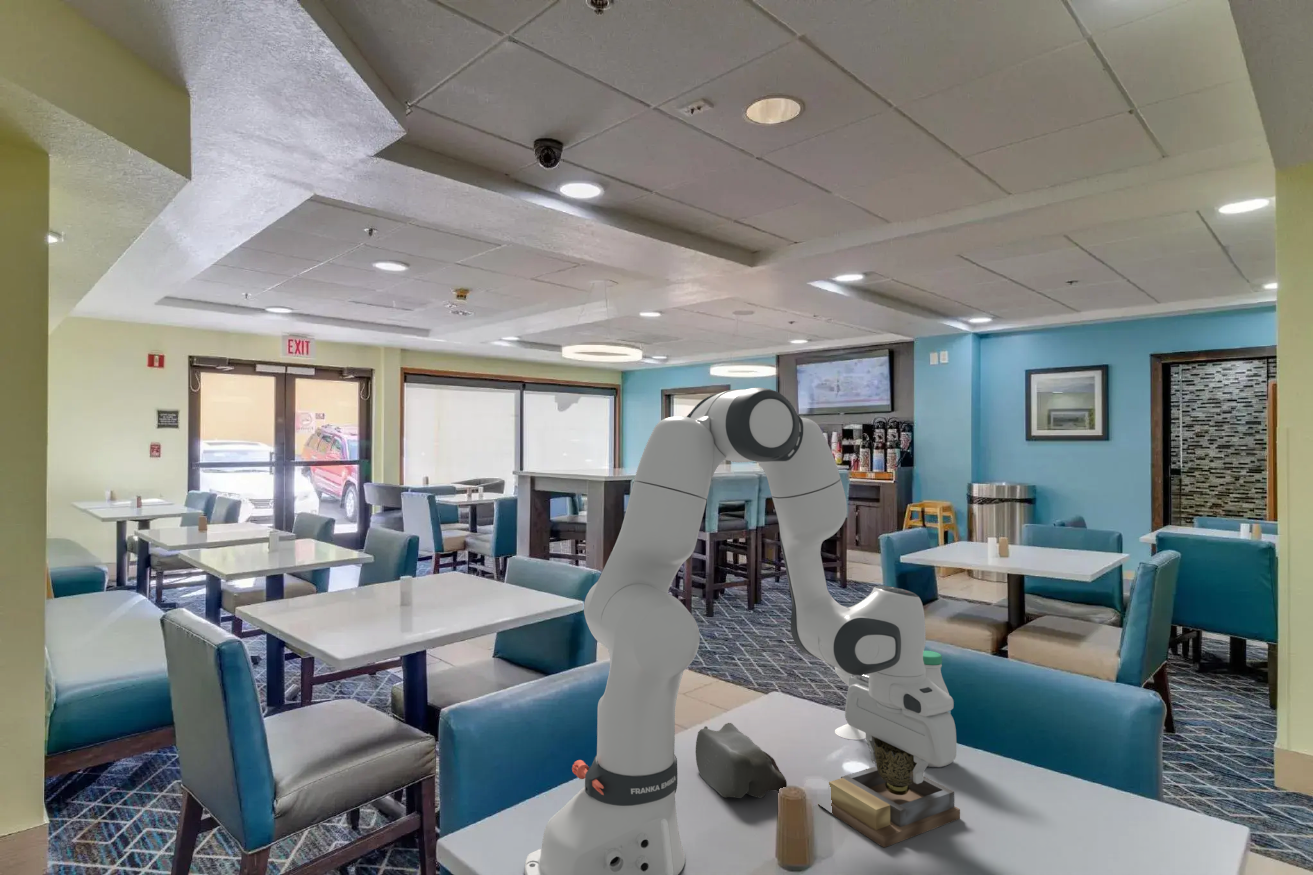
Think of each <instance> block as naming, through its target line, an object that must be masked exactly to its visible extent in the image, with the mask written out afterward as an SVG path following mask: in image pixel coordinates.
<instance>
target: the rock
mask: <svg viewBox="0 0 1313 875" xmlns="http://www.w3.org/2000/svg"><path fill="white" fill-rule="evenodd" d="M695 760H696V761H695V762H696V767H697V770H698V773H699V775H700V777H701V778H702V779H703V780H704V782H705V783H706V784H707V785H708V786H710V788H712V789H714V790H715V791H716V792H717V794H719V795H720V796H721V797H722V798H726V799H727V798H737V799H742V798H743V797H744V796H745V795H746V794H747V795H749V796H751V797H756V798H763V797H765V795H766V793H768V792H770V791H771V792H772V791H773V792H774V791H775V792H779V789H780V788H783V787H786V788H787V787H788V786H787V785H788V783H787V778H786V777H785V776H784V774H783V773H782V772H781V770H780V768H779V766H778V765H777V763H776V760H775V759H774V758H773V757H772V756H771V755H770V754H769V753H767V752H766V751H764V750H762V748H761V747H760V746H758V745H757V744H756V743H755V742H754V741H753V740H752V739H751V738H750V737H749V736H748V735H746V734H744V733H743V732H742V731H740V730H739V729H738V728H737V727H736V726H735V725H734V724H733V723H732V722H727V723H725V724H723V726H722V727H721V728H720V729H719V730H713V729H709V728H708V726H706V725H705V726H704V727H703V728H702V729H699V731H698V732H697V737H696V741H695Z"/></svg>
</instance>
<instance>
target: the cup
mask: <svg viewBox="0 0 1313 875" xmlns="http://www.w3.org/2000/svg"><path fill="white" fill-rule="evenodd" d="M873 740H874V749H875V758H876V763H875V766H877V769H878V772H879V775H880V776H881V778H882V779H883V780H884V781H886V783H885V786H886V788H887V790H888V791H889V792H890V793H892V794H895V795H905V794H907V793H908V791H909V785H910V784H912V783H913V782H912V781H911V780H909V778H908V777H909V770H913V769H914V768H915V766H916V764H917V763H916V762H914V756H913V755H911V754H909V753H907V752H905V751H903V750H901V749H899V748H897V747H894V746H892V745H890V744H888V743H886V742H884V741H882V740H880V739H878V738H874V739H873Z"/></svg>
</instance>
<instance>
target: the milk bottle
mask: <svg viewBox="0 0 1313 875" xmlns="http://www.w3.org/2000/svg"><path fill="white" fill-rule="evenodd" d="M942 656H943V655H942V654H941V653H939V652H937V651H933V650H932V651H931V650H924V651H923V662H924V665H925V677H927V678H929V679H930V680H931V681H932V682H933V683H934V684H935V685H937V686H938V687H939V688H940V689H942V690H943V691H944V692H946V693H947V694H948V695H950V693H949V690H948V687H947V685H946V683H945V680H944V678H943V675H942V671H941V670H942V667H943V665H942V663H943V657H942ZM951 711H952V710H950V711H948V712H949V713H950V714H951V713H952V712H951ZM951 715H952V714H951ZM946 766H947V765H945V766H941V767H940V768H943V767H946ZM927 767H930V768H938V767H937V766H934V765H932V764H930V763H929V764H928V766H927Z"/></svg>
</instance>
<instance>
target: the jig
mask: <svg viewBox="0 0 1313 875" xmlns="http://www.w3.org/2000/svg"><path fill="white" fill-rule="evenodd" d="M885 783H886V781H884V780H883V779H882V778H881V776H880V775H879V772H878V769H877V765H875V766H873V767H872V766H871V767H869V768H866V769H863V770H859V771H856V772H851V773H849V774H846V775H845V774H844V775H843V776H840V778H837V779H834V780H831V781H829V782H828V786H829V785H830V787H831V800H832V803H831V806H832V813H833V816H834V817H836V818H837V819H839V820H840V821H842V822H843V823H845V824H847V825H848V826H850V827H851V828H853V829H854V830H856V831H857V832H859V833H861V834H862V835H863V836H865V837H866V838H868V839H870V840H871V841H873V842H875V843H876V844H878V845H879V846H881V847H882V848H883V849H884V848H887V847H890V846H893V845H895V844H897V843H900V842H903V841H905V840H907V839H910V838H913V837H916V836H918V835H921V834H924V833H927V832H928V831H932V830H934V829H937V828H939V827H942V826H944V825H946V824H950V823H953V822H954V821H958V820H960V819H961V809H960V808H958V807H956V806H955V791H954V790H952V789H950V788H948V787H946V786H944V785H942V784H940V783H939V782H936V781H934V780H932V779H931V778H928V777H926V776H924V775H923V782H922V783H919V784H916V783H914V782H913V783H912V784H910V785H909V791H908V793H907V794H905V795H895V794H892V793H890V792H889V791H888V790H887V788H886V786H885Z"/></svg>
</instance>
